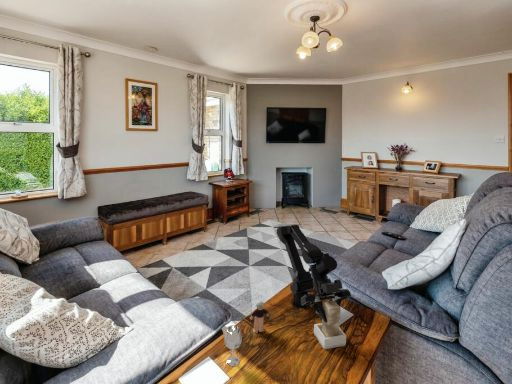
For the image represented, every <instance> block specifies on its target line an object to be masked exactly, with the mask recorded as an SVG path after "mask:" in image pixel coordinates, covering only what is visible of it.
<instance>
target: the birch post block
mask: <svg viewBox="0 0 512 384" xmlns="http://www.w3.org/2000/svg"><path fill="white" fill-rule="evenodd" d="M323 309H324V312H325V315H326V319H327V322H326V323H325V322H324V320H323V319H322V318H321V323H322V329H321V332H322V333H323V334H324V336H325V337H326V338H327V337H333V336H338V333H339V327H340V320H341V305H340V306H339V305H338V304H337V303H336V302H335V301H333V300H330V301H324V302H323Z"/></svg>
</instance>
